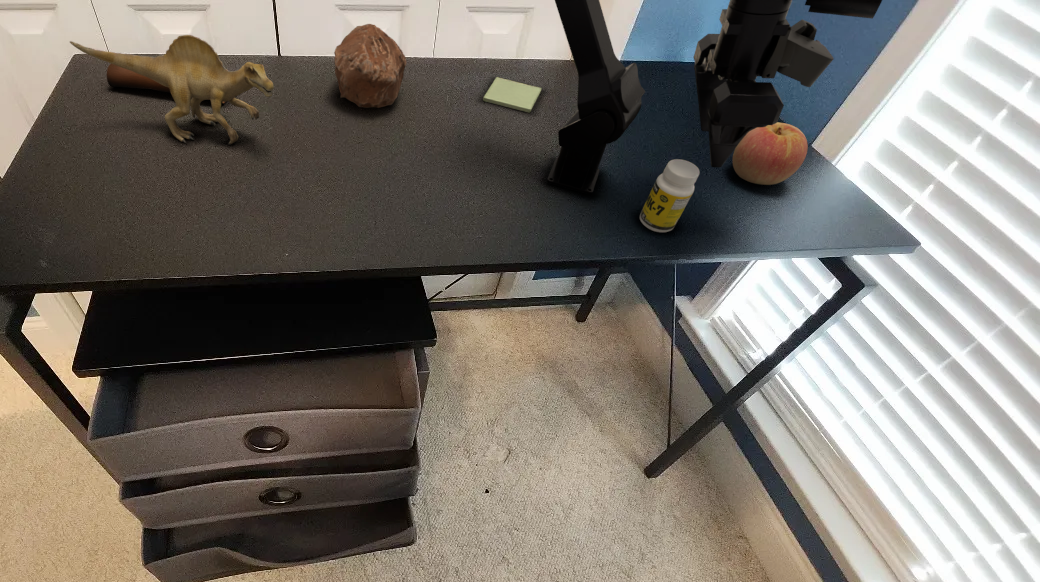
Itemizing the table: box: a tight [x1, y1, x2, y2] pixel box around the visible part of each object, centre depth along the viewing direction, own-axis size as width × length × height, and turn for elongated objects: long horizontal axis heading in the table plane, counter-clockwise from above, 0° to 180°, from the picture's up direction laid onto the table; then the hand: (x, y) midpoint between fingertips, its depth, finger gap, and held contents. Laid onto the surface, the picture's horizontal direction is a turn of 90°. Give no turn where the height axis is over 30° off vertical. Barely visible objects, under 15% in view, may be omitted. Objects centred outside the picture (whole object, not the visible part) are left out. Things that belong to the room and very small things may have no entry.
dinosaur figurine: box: [69, 34, 275, 145], centre depth 82 cm, size 8×26×13 cm, turn 81°
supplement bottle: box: [639, 158, 700, 233], centre depth 77 cm, size 5×5×8 cm
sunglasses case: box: [106, 63, 226, 104], centre depth 92 cm, size 18×7×7 cm
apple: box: [732, 121, 809, 186], centre depth 86 cm, size 9×9×8 cm
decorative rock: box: [333, 23, 407, 109], centre depth 92 cm, size 13×11×10 cm
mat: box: [482, 76, 543, 114], centre depth 99 cm, size 8×8×1 cm
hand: (710, 148), depth 73 cm, fingers open, 9 cm apart
